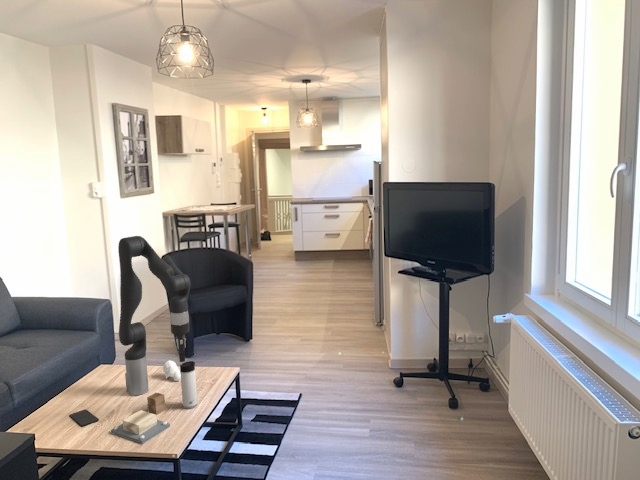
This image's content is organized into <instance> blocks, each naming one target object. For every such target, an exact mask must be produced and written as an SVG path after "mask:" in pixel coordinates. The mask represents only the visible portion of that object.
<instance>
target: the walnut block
mask: <svg viewBox="0 0 640 480" xmlns="http://www.w3.org/2000/svg"><path fill="white" fill-rule="evenodd" d="M146 400H147V412H148V413H152V414H155V415H156V416H158V415H159V414H160V413H163V412H164V411H166V398H165V394H164V393H163V394H162V393H159V392H154V393H152V394H150V395H149V396H147V397H146Z"/></svg>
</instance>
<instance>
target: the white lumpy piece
mask: <svg viewBox="0 0 640 480" xmlns="http://www.w3.org/2000/svg"><path fill="white" fill-rule="evenodd" d="M162 369H163V373H164V374H165V380H168V379H169V377H171V378H173V381H175V382H181V374H180V368H178V365H177V363H176V362H175V361H174V360H166V362H165V363H163V366H162Z"/></svg>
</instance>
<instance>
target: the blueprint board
mask: <svg viewBox="0 0 640 480" xmlns="http://www.w3.org/2000/svg"><path fill="white" fill-rule="evenodd" d="M170 427H171V423H168V422H167V421H162V420H160V419H159V420H158V419H157V425H155V426H153V427H152V428H150V429H148V430H147V431H145V432H143V433H142V434H140V435H138V434H135V433H132V432H129V431H126V430H124V429H123V422H122V423H120V424H119V425H117V426H114V427H113V428H112V429H110V433H111V434H113V435H116V436H119V437H122V438H125V439H127V440H131V441H133V442H136V443H140V444H142V445H143V444H144V443H146V442H147V441H149V440H151V439H153V438H154V437H156V436H158V435H159V434H160V433H162V432H164V431H166V429H168V428H170Z"/></svg>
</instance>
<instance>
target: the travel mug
mask: <svg viewBox="0 0 640 480" xmlns="http://www.w3.org/2000/svg"><path fill="white" fill-rule="evenodd" d="M195 365H196V362H195V361H193V360H189V361H186V362H185V361H184V362H181V364H180V365H179V372H180V374H181V379H180V387H181V399H182V401H181V402H182V407H183V409H186V410H191V409H194V408H196V407H197V406H198V395H197V394H198V393H197V378H196V368H195V367H196V366H195Z"/></svg>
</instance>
